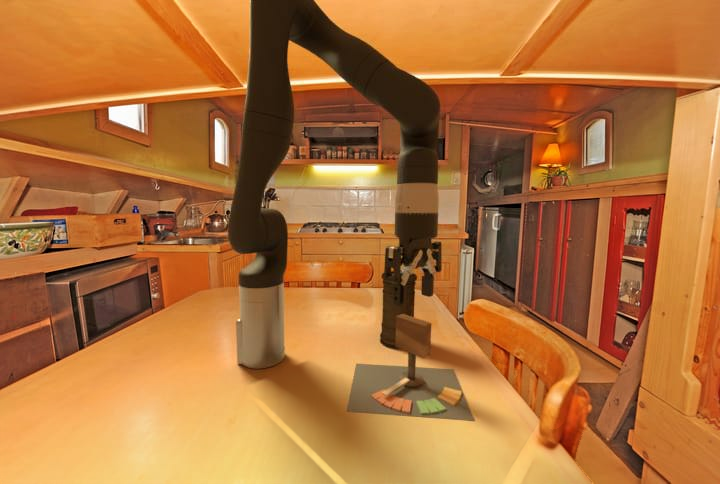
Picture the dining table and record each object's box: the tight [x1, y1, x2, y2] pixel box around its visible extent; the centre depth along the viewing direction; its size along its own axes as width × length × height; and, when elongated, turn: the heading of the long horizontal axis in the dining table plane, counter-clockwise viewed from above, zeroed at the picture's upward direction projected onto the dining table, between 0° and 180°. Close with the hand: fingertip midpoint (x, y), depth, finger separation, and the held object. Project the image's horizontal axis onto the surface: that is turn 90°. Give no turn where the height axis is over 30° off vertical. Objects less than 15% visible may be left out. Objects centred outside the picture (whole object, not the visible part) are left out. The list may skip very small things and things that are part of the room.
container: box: [379, 270, 418, 350], centre depth 74 cm, size 9×9×18 cm
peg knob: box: [382, 314, 432, 398], centre depth 54 cm, size 10×6×12 cm, turn 135°
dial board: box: [346, 363, 475, 422], centre depth 55 cm, size 20×15×2 cm
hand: (414, 300), depth 55 cm, fingers open, 8 cm apart
